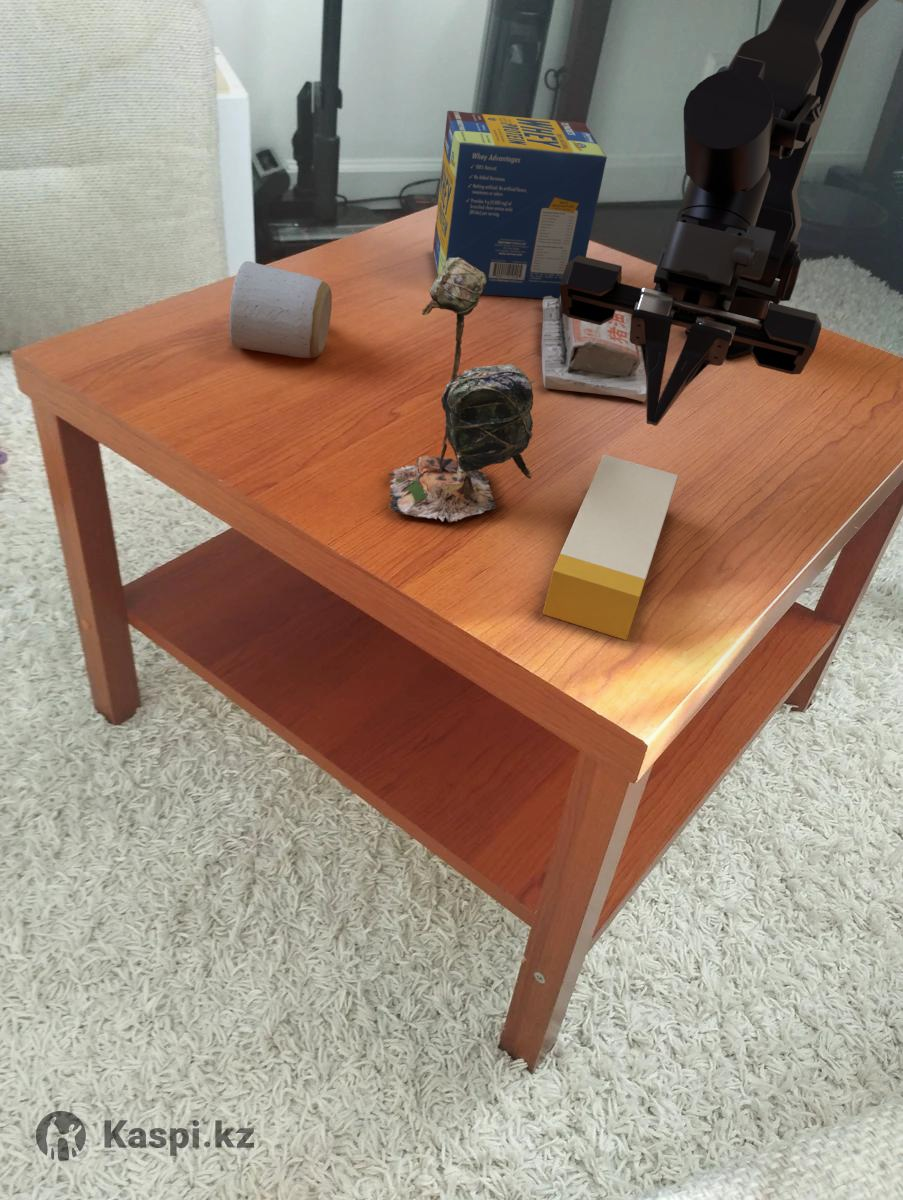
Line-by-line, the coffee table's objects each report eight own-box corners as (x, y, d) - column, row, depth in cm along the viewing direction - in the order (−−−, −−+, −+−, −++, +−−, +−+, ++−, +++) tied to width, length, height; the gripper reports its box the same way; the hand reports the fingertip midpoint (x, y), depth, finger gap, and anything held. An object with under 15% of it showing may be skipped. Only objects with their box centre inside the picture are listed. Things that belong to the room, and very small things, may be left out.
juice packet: (603, 453, 78) (552, 570, 66) (678, 474, 77) (640, 596, 65) (593, 495, 81) (542, 614, 69) (665, 516, 80) (626, 640, 68)
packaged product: (548, 264, 103) (642, 277, 103) (539, 308, 106) (631, 321, 107) (550, 343, 89) (659, 358, 90) (541, 391, 93) (646, 405, 93)
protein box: (430, 253, 114) (445, 108, 104) (560, 262, 116) (588, 122, 106) (439, 293, 106) (456, 141, 96) (579, 302, 109) (610, 154, 99)
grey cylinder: (318, 374, 90) (320, 293, 85) (228, 361, 90) (226, 279, 85) (338, 325, 98) (341, 248, 93) (255, 313, 98) (255, 236, 93)
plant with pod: (524, 540, 75) (576, 287, 62) (375, 517, 75) (397, 260, 62) (528, 480, 81) (576, 239, 68) (391, 459, 81) (413, 214, 68)
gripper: (592, 139, 68) (522, 352, 67) (869, 201, 65) (799, 426, 64) (593, 218, 79) (533, 403, 78) (830, 274, 76) (770, 467, 75)
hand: (651, 423), depth 73 cm, fingers closed
